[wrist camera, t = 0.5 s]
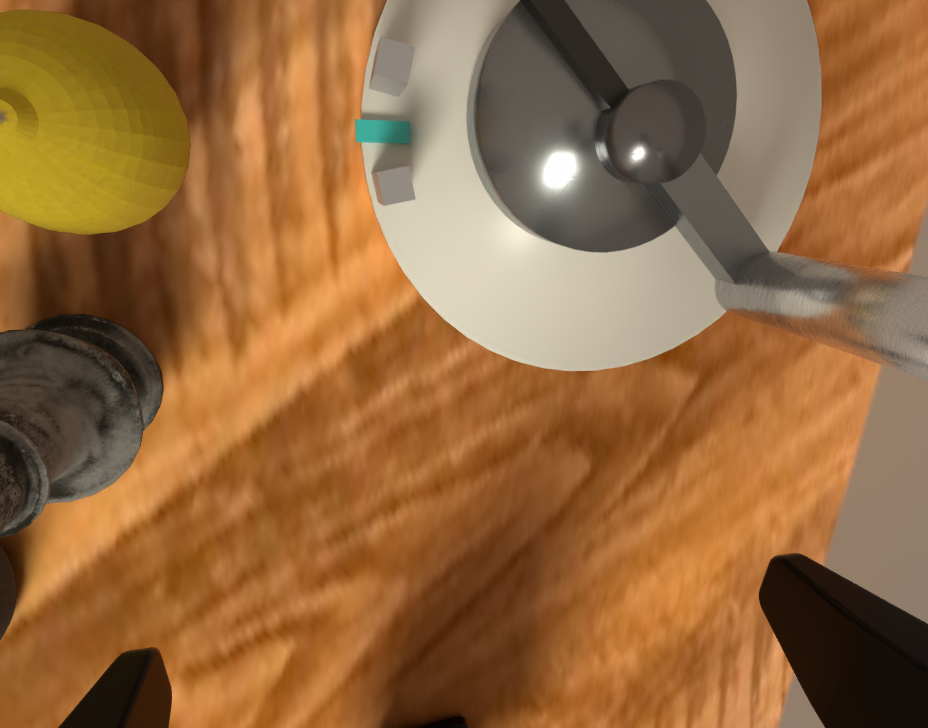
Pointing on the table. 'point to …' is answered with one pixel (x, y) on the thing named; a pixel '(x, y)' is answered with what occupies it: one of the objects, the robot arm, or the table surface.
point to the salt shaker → (69, 411)
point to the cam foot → (659, 164)
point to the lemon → (84, 127)
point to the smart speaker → (6, 592)
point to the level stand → (545, 263)
